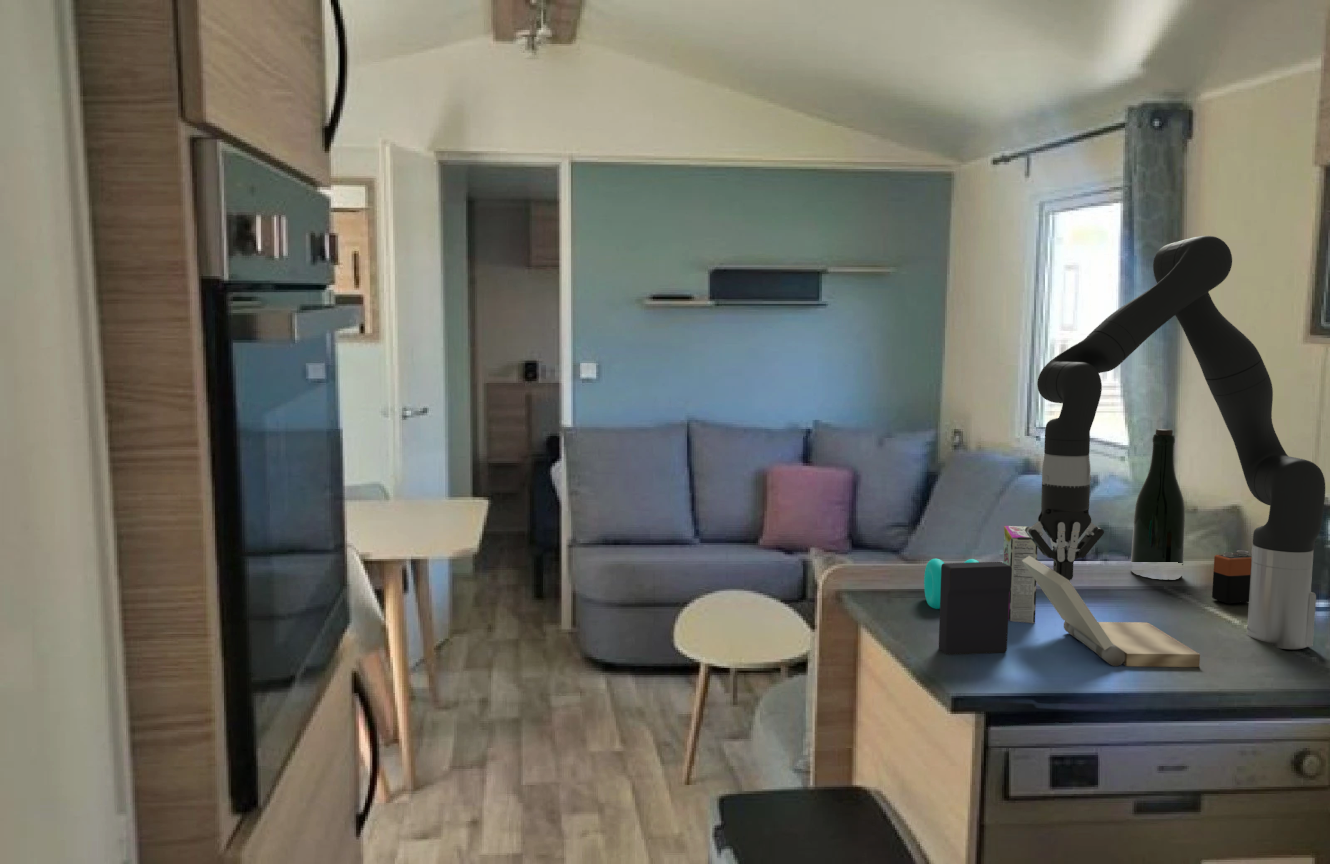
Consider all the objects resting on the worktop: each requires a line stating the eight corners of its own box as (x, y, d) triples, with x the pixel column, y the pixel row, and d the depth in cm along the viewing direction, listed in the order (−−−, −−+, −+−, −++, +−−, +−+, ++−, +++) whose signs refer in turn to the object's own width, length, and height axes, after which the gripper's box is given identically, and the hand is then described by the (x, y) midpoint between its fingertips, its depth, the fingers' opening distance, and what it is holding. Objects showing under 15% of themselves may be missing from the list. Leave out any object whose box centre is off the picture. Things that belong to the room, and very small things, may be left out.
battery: (1255, 602, 203) (1258, 553, 202) (1227, 604, 201) (1230, 554, 200) (1238, 596, 207) (1241, 548, 206) (1210, 598, 205) (1213, 550, 204)
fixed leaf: (1147, 633, 180) (1148, 617, 180) (1199, 666, 162) (1200, 648, 162) (1063, 633, 180) (1064, 616, 180) (1106, 665, 163) (1107, 647, 162)
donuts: (986, 617, 190) (989, 565, 190) (933, 616, 191) (935, 564, 190) (972, 603, 200) (974, 554, 199) (921, 602, 201) (923, 553, 200)
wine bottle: (1144, 582, 219) (1152, 431, 215) (1121, 570, 229) (1129, 426, 226) (1192, 582, 219) (1201, 431, 216) (1167, 570, 229) (1175, 426, 226)
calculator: (996, 645, 173) (999, 560, 171) (1009, 653, 169) (1012, 565, 167) (936, 648, 171) (939, 562, 169) (947, 656, 167) (950, 568, 165)
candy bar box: (999, 607, 197) (1003, 524, 196) (1026, 608, 196) (1030, 526, 195) (1007, 623, 187) (1010, 536, 185) (1035, 625, 186) (1039, 537, 184)
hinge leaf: (1069, 635, 181) (1082, 626, 180) (1113, 668, 163) (1127, 659, 162) (1019, 562, 179) (1032, 553, 179) (1057, 587, 161) (1071, 577, 161)
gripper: (1096, 477, 172) (1092, 576, 174) (1018, 477, 173) (1016, 576, 174) (1115, 483, 165) (1111, 587, 167) (1034, 484, 165) (1031, 587, 167)
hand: (1062, 581), depth 170 cm, fingers closed
